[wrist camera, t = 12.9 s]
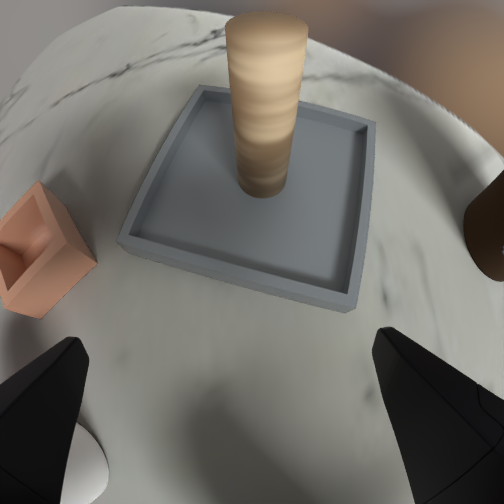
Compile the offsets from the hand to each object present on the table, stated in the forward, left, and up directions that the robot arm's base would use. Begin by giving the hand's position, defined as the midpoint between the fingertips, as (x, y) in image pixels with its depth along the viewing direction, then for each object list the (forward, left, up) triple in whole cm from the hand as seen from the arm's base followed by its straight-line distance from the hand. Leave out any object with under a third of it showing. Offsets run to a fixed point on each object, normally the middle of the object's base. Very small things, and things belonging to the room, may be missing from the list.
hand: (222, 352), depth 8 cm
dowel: (+2, -14, -12) cm, 19 cm away
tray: (+2, -14, -13) cm, 19 cm away
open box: (+19, -2, -13) cm, 23 cm away
